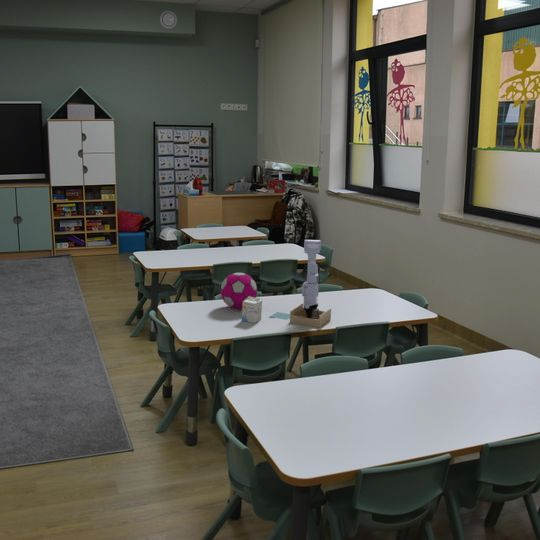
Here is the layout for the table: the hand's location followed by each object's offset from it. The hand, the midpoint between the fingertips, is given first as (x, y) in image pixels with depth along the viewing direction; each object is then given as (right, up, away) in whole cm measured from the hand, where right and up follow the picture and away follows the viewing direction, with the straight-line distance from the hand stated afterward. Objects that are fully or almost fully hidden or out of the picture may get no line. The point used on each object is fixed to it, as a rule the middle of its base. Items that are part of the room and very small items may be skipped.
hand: (310, 317), depth 389 cm
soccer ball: (-43, +4, +21) cm, 48 cm away
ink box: (-34, -2, -1) cm, 34 cm away
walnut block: (0, -2, 0) cm, 2 cm away
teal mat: (-16, 0, +8) cm, 18 cm away
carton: (0, -2, +1) cm, 2 cm away
